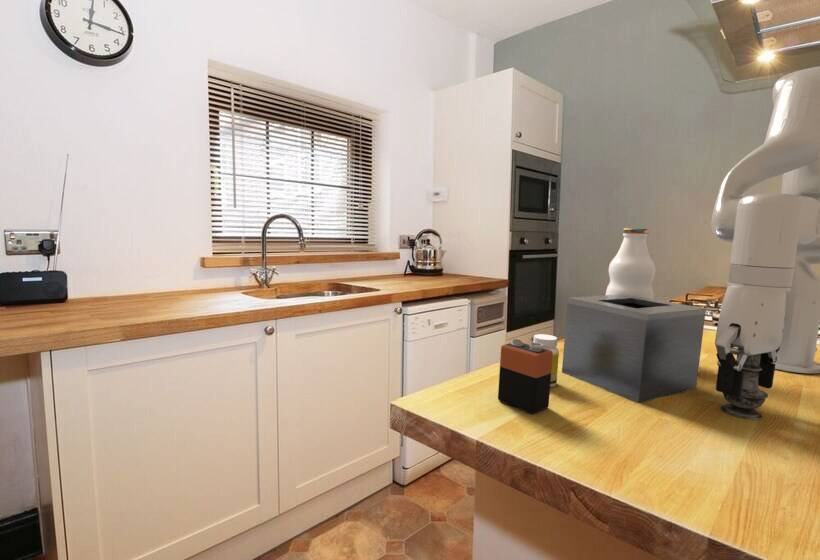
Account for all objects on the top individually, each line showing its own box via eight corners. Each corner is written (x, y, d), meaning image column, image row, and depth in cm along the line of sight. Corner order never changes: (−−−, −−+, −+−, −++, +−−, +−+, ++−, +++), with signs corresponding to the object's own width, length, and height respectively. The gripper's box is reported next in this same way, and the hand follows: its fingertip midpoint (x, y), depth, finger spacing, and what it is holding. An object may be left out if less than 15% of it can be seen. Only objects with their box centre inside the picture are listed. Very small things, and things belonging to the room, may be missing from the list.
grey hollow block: (617, 362, 92) (623, 294, 91) (696, 388, 78) (705, 308, 77) (561, 372, 85) (567, 297, 83) (638, 402, 71) (647, 314, 69)
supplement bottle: (557, 381, 80) (561, 335, 79) (554, 389, 76) (558, 341, 74) (530, 376, 82) (534, 332, 81) (526, 384, 78) (529, 337, 76)
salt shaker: (773, 422, 65) (785, 343, 64) (729, 418, 66) (739, 340, 65) (751, 407, 71) (762, 334, 70) (711, 402, 72) (720, 331, 71)
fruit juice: (618, 362, 92) (632, 228, 89) (591, 350, 101) (602, 227, 98) (657, 361, 94) (671, 229, 91) (626, 349, 104) (638, 228, 100)
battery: (533, 415, 65) (538, 349, 63) (496, 400, 70) (500, 339, 69) (549, 408, 68) (554, 344, 66) (512, 394, 73) (517, 335, 71)
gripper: (759, 274, 73) (746, 375, 76) (699, 276, 65) (686, 389, 67) (817, 279, 67) (800, 390, 69) (758, 283, 59) (741, 407, 61)
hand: (744, 389), depth 68 cm, fingers open, 8 cm apart
